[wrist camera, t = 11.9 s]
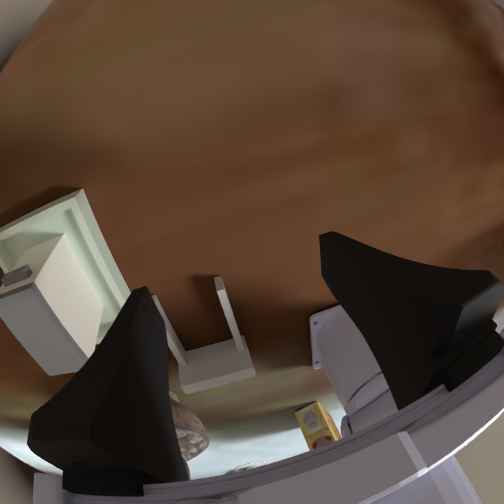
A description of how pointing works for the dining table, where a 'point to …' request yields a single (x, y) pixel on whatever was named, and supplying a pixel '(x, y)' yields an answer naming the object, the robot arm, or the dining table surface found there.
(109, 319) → the tray
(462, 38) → the dining table surface
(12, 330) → the block
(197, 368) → the bay
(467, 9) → the dining table surface
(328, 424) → the candy box
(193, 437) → the pottery
